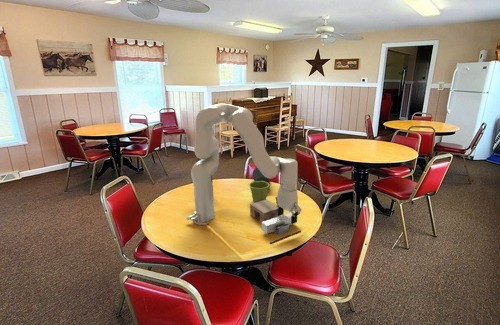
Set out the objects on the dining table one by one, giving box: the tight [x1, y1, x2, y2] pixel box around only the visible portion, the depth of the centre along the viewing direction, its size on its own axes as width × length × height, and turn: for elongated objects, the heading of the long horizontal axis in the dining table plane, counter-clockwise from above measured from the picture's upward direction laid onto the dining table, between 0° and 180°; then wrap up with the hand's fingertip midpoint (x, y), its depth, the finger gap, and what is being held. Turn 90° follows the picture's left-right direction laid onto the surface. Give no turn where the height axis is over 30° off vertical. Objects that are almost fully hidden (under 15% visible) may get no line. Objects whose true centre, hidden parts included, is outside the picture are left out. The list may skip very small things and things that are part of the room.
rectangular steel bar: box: [261, 212, 298, 234], centre depth 135 cm, size 18×4×4 cm, turn 123°
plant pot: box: [248, 181, 271, 203], centre depth 167 cm, size 12×12×11 cm
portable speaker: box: [252, 167, 271, 190], centre depth 193 cm, size 26×10×10 cm, turn 4°
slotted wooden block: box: [249, 199, 278, 224], centre depth 147 cm, size 10×12×8 cm
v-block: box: [269, 224, 302, 245], centre depth 136 cm, size 18×12×5 cm, turn 124°
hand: (287, 218), depth 138 cm, fingers open, 9 cm apart
